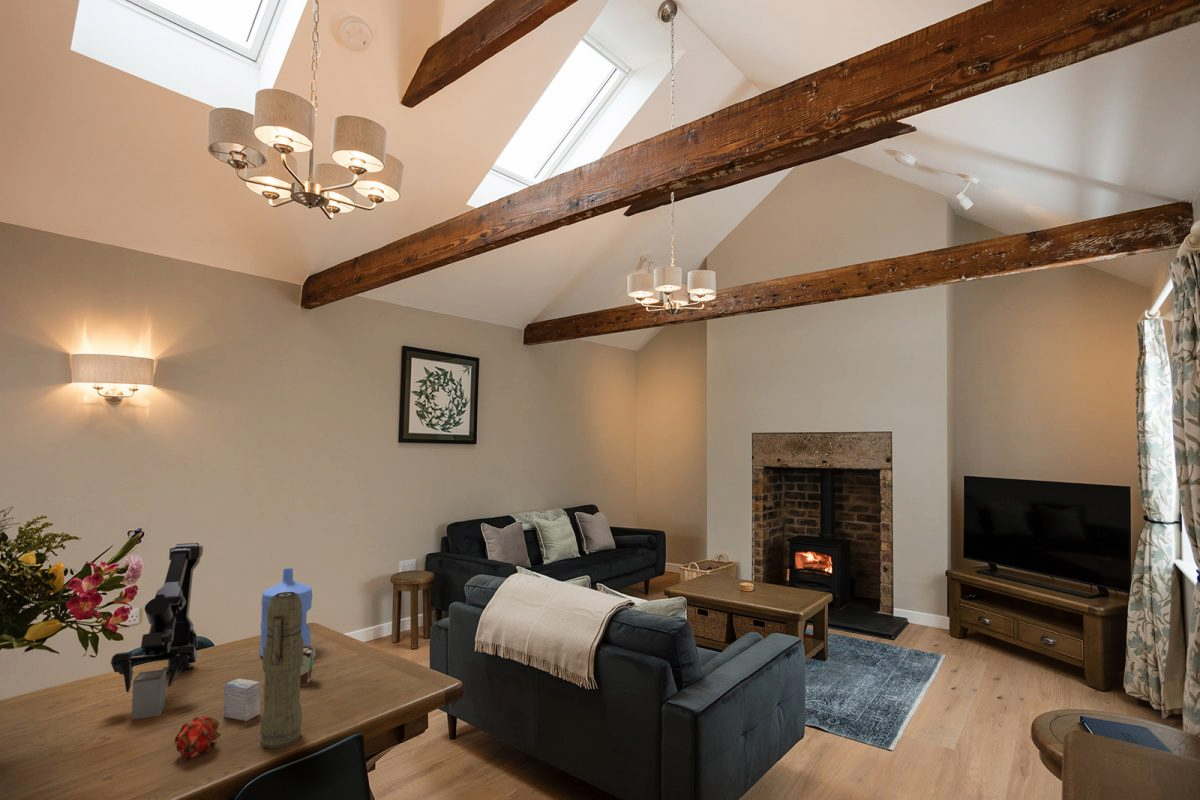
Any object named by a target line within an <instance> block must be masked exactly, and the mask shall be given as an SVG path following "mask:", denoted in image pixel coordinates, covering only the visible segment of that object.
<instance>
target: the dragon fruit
mask: <svg viewBox="0 0 1200 800" xmlns="http://www.w3.org/2000/svg"><path fill="white" fill-rule="evenodd" d="M219 724H220V722H219V721H218V720H217V719H215V718H214V717H212V716H211V715H209V714H208V715H207V714H206V715H202V716H201V717H199V716H196V717H195V716H194V717H193V718H192V720H191V722H190V723H184V724H183V725H182V726H181V727H180V729H179V731H178V733H177V734H176V736H175V738H174V745H175V747H176V750H177V752H179V754H181V755H182V756H183V759H184V760H185V761H189V760H190V759H193V758H194V757H195V758H197V757H199V756H200V755H201V752H202V753H204V754H207V753H208V752H209V751H210V750H211V749H213V748H214V747H215V745H217V743H218V741H216V740H218V739H219V738H220V737H221V733H220V732H219V731H217V730H218V729H219Z"/></svg>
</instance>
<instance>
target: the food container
mask: <svg viewBox="0 0 1200 800" xmlns="http://www.w3.org/2000/svg"><path fill="white" fill-rule="evenodd" d="M316 655H317V653H316V649H315V647H314V645H312V644H311V645H308V644H304V645H303V663H302V666H301V676H300V684H308V683H309V682H310V683H311V679H312V673H313V671H312V670H313V665H314V664H313V662H314V658H315V657H316ZM310 683H309V684H310ZM309 684H308V685H309Z"/></svg>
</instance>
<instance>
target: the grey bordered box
mask: <svg viewBox="0 0 1200 800" xmlns="http://www.w3.org/2000/svg"><path fill="white" fill-rule="evenodd" d="M132 680H133V681H132V701H131V720H132V719H134V720H139V719H146V718H152V717H158V716H161V713H162V712H163V710H164V709H165V707H166V687H167V686H166V685H167V683H166V682H167V671H166V669H164V670H163V669H158V670H151V671H150V670H148V671H142V672H139V673H138V674H137V676H135V678H134V679H132Z"/></svg>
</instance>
